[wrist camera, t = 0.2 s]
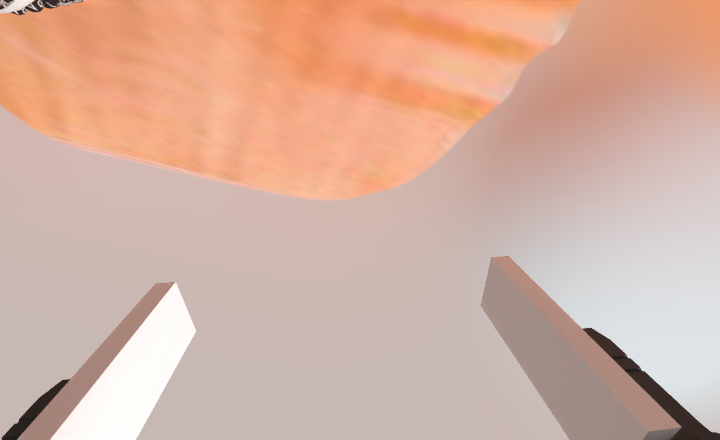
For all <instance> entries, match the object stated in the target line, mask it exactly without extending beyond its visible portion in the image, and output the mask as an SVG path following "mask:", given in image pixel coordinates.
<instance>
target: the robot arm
mask: <svg viewBox="0 0 720 440" xmlns="http://www.w3.org/2000/svg"><path fill="white" fill-rule="evenodd" d="M481 307H482V308H483V310H484V311H485V313H486V314H487V316H488V317H489V319H490V320H491V322H492V323H493V325H494V326H495V328H496V329H497V331H498V332H499V334H500V335H501V337H502V338H503V340H504V341H505V343H506V344H507V346H508V348H509V349H510V351H511V352H512V353H513V355H514V357H515V358H516V359H517V361H518V363H519V364H520V365H521V367H522V369H523V370H524V372H525V373H526V375H527V376H528V378H529V379H530V381H531V382H532V384H533V385H534V387H535V388H536V390H537V391H538V393H539V394H540V396H541V397H542V399H543V400H544V402H545V403H546V405H547V406H548V408H549V409H550V411H551V412H552V414H553V415H554V417H555V418H556V420H557V421H558V423H559V424H560V426H561V427H562V429H563V430H564V432H565V433H566V435H567V437H568V438H569V439H570V440H720V434H719V433H716V432H715V433H714V432H711V431H709V430H708V429H707V428H705V427H704V426H703V425H702V424H701V423H700V422H698V421H697V420H696V419H695V418H694V417H693V416H692V415H691V414H690V413H689V412H688V411H687V410H686V409H684V408H683V407H682V406H681V405H680V404H679V403H678V402H677V401H676V400H675V399H673V397H672V396H670V395H669V394H668V393H667V392H666V391H665V390H664V389H663V388H662V387H661V386H660V385H659V384H657V383H656V382H655V381H654V380H653V379H652V378H651V377H650V376H649V375H648V374H647V373H646V372H644V371H641V368H640V367H639V366H638V365H637V364H636V363H635V362H634V361H633V360H632V359H630V358H628V357H627V355H626V354H625V353H624V352H623V351H622V350H621V349H620V348H619V347H617V346H616V345H615V344H614V343H613V342H612V341H611V340H610V339H608V338H606V337H605V336H603V335H602V334H600V333H598V332H597V331H595V330H594V329H592V328H585V329H582V328H581V327H580V326H579V325H577V324H576V323H575V322H574V320H573V319H571V317H570V316H569V315H568V314H566V313H565V312H564V311H563V310H562V309H561V308H560V307H559V306H558V305H557V304H556V303H555V302H554V301H553V300H552V299H551V298H550V297H549V296H548V295H547V294H546V293H545V292H544V291H543V290H542V289H541V288H540V287H539V286H538V285H537V284H536V283H535V282H534V281H533V280H532V279H531V278H530V277H529V276H528V275H527V274H526V273H525V272H524V271H523V270H522V269H521V268H520V267H519V266H518V265H517V264H516V263H515V262H514V261H513V260H512V259H511V258H510V257H509V256H504V257H492V258H491V261H490V266H489V271H488V275H487V280H486V284H485V289H484V293H483V298H482V302H481ZM195 332H196V330H195V327H194V325H193V323H192V320H191V318H190V315H189V313H188V311H187V308H186V306H185V304H184V301H183V299H182V296H181V294H180V292H179V289H178V287H177V284H176V282H170V283H157V284H155V285H154V286H153V287H152V288H151V289H150V291H149V292H148V293H147V294H146V295H145V296H144V297H143V298H142V300H141V301H140V302H139V303H138V304H137V305H136V306H135V307H134V309H133V310H132V311H131V312H130V313H129V314H128V315H127V316H126V317H125V319H124V320H123V321H122V322H121V323H120V324H119V325H118V327H117V328H116V329H115V330H114V331H113V332H112V333H111V334H110V336H109V337H108V338H107V339H106V340H105V341H104V342H103V343H102V345H101V346H100V347H99V348H98V349H97V350H96V351H95V352H94V354H93V355H92V356H91V357H90V358H89V359H88V360H87V361H86V363H85V364H84V365H83V366H82V367H81V368H80V369H79V370H78V372H77V373H76V374H75V375H74V376H73V377H72V378H71V379H68V380H62V381H61V382H59V383H58V384H57V385H55V386H54V387H53V388H51V389H50V390H49V391H48V392H46V393H45V394H44V395H42V396H41V397H40V398H39V399H38V400H37V401H36V402H35V403H34V404H33V405H32V406H31V407H30V408H29V409H28V410H27V411H26V412H25V414H24V415H23V416H22V417H21V418H20V419H19V422H18V423H17V424H14V425H13V426H12V427H11V428H10V429H9V431H8V432H7V433H6V434H5V435H4V436H3V437H2V440H136V438H137V436H138V435H139V433H140V431H141V429H142V427H143V425H144V424H145V422H146V420H147V418H148V417H149V415H150V413H151V411H152V409H153V407H154V406H155V404H156V402H157V400H158V399H159V397H160V395H161V393H162V391H163V390H164V388H165V386H166V384H167V382H168V381H169V379H170V377H171V375H172V373H173V372H174V370H175V368H176V366H177V364H178V362H179V360H180V359H181V357H182V355H183V353H184V352H185V350H186V348H187V346H188V345H189V343H190V341H191V339H192V337H193V336H194V334H195Z"/></svg>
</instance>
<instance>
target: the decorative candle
mask: <svg viewBox="0 0 720 440" xmlns="http://www.w3.org/2000/svg"><path fill="white" fill-rule="evenodd" d="M82 1H86V0H0V13H9V12H11V13H14V14H17V15H23V14H25V13H26V12H27V9H28V10H29V11H32V12H40V11H41V10H42V9H43V6H44V7H46V8H50V9H52V8H56V7H58V6H60V5H62V6H68V5H71V4H72V3H73V2H74V3H80V2H82Z"/></svg>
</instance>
